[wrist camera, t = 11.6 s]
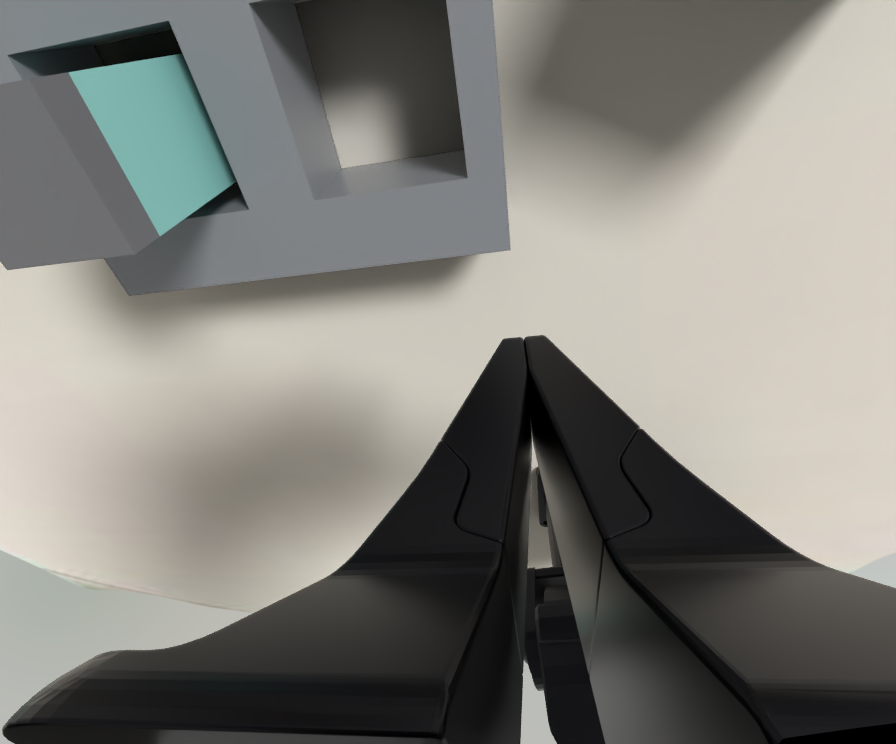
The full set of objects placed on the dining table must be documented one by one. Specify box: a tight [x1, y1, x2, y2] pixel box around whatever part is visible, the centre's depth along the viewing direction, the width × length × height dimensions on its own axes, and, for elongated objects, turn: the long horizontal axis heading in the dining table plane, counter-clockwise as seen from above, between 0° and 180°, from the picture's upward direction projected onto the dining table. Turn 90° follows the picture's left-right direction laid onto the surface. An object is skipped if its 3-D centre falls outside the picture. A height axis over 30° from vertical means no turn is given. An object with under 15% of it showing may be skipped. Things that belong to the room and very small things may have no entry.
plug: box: [0, 53, 237, 270], centre depth 15 cm, size 4×4×9 cm
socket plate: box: [0, 0, 510, 296], centre depth 16 cm, size 11×16×4 cm
